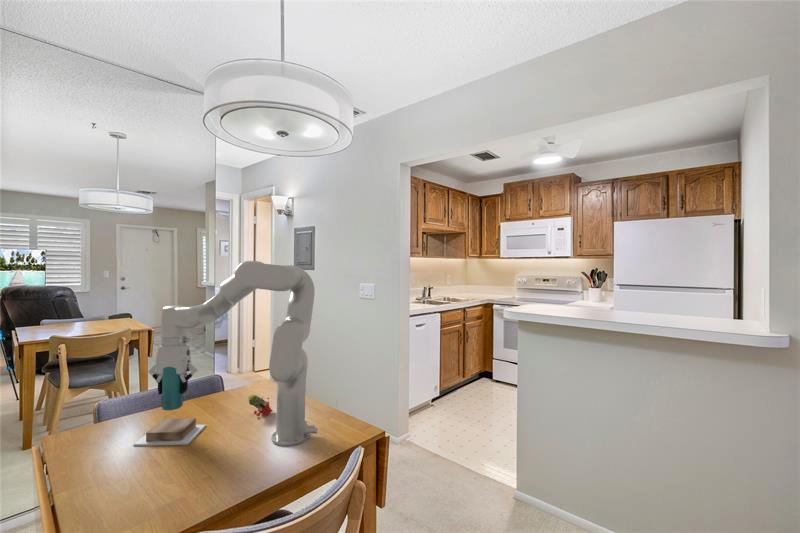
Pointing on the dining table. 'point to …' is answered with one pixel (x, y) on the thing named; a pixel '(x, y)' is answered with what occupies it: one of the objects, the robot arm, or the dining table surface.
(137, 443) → the base board
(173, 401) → the beverage bottle
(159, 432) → the walnut plinth
